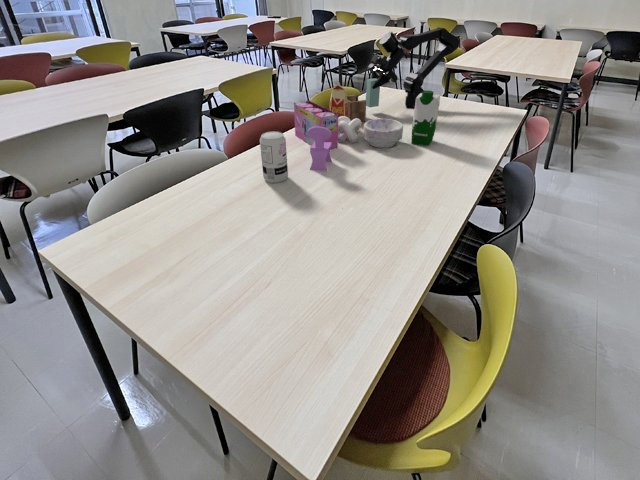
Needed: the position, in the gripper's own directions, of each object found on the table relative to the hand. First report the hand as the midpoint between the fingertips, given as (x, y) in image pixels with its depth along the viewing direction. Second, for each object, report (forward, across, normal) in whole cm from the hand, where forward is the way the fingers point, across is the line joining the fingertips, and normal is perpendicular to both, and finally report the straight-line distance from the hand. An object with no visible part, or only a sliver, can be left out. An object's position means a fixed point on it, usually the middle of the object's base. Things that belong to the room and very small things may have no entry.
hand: (370, 87), depth 183 cm
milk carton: (+25, +14, -8) cm, 30 cm away
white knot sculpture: (+28, +28, -10) cm, 41 cm away
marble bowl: (+20, +38, -2) cm, 43 cm away
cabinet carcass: (+17, +5, 0) cm, 18 cm away
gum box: (+36, +24, -18) cm, 47 cm away
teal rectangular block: (+5, 0, +7) cm, 9 cm away
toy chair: (+41, +47, -24) cm, 67 cm away
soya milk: (+9, +43, +9) cm, 45 cm away
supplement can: (+54, +50, -37) cm, 82 cm away
